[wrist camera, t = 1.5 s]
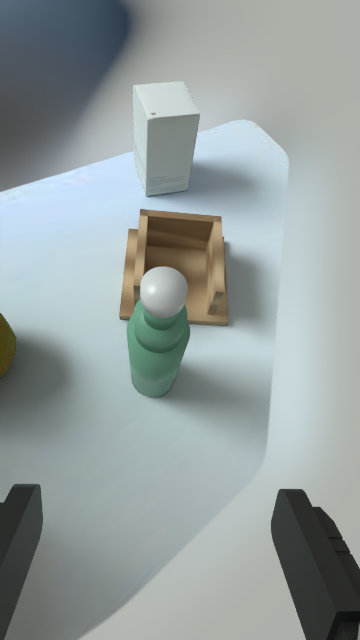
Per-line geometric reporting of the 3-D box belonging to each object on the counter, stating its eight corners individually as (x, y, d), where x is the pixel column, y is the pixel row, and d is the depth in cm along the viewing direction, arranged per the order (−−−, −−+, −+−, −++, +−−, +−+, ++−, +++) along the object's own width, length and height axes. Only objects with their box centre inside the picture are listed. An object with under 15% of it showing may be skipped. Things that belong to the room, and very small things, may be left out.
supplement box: (189, 191, 53) (202, 114, 42) (144, 197, 52) (145, 119, 40) (176, 159, 56) (185, 79, 45) (133, 164, 54) (131, 82, 43)
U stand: (129, 233, 48) (127, 197, 42) (222, 241, 49) (234, 207, 43) (119, 319, 42) (116, 292, 36) (226, 325, 43) (240, 300, 37)
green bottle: (122, 375, 39) (104, 284, 20) (153, 347, 41) (164, 239, 22) (152, 406, 38) (164, 340, 19) (183, 375, 40) (221, 288, 21)
